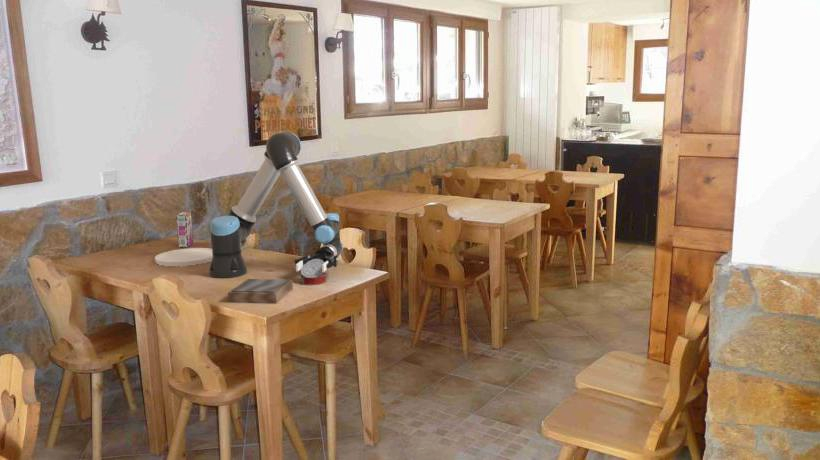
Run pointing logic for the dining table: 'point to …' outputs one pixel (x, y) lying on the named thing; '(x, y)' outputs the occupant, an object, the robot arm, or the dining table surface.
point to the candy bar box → (184, 229)
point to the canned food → (313, 273)
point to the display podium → (260, 291)
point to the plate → (184, 257)
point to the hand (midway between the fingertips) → (309, 268)
